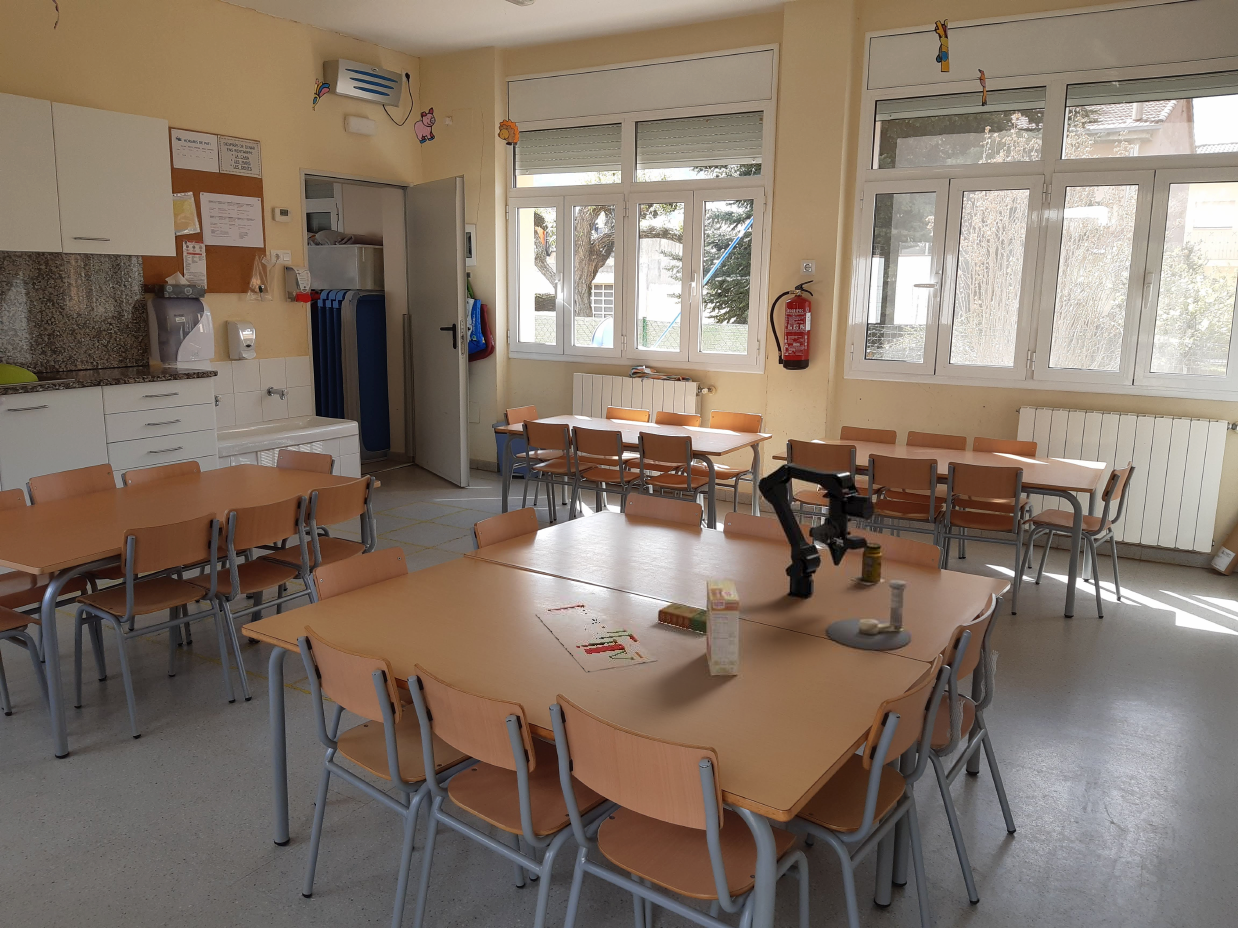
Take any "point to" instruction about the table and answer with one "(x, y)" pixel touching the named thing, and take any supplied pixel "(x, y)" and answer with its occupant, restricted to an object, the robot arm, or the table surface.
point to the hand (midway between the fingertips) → (836, 565)
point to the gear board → (605, 648)
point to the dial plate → (867, 636)
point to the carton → (684, 617)
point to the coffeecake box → (722, 627)
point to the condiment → (871, 565)
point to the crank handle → (895, 616)
